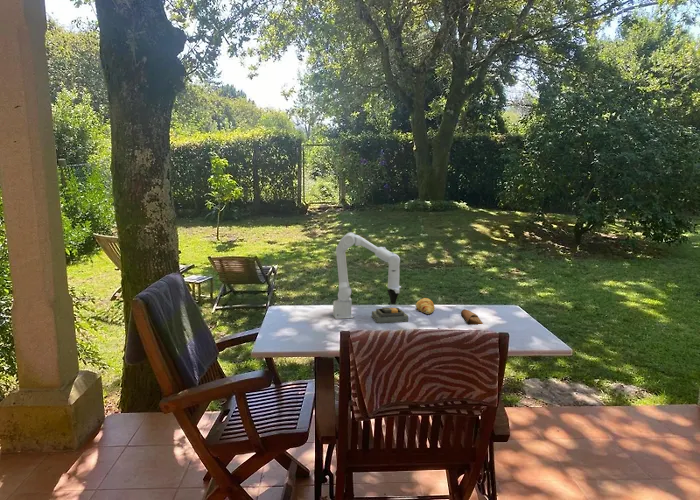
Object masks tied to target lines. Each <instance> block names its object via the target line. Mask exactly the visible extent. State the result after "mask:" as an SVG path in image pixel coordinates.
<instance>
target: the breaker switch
mask: <svg viewBox="0 0 700 500" xmlns="http://www.w3.org/2000/svg"><path fill="white" fill-rule="evenodd" d="M396 308H397V307H382V308H381V309H382V311H383V312H384V313H398V310H397V309H396Z"/></svg>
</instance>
